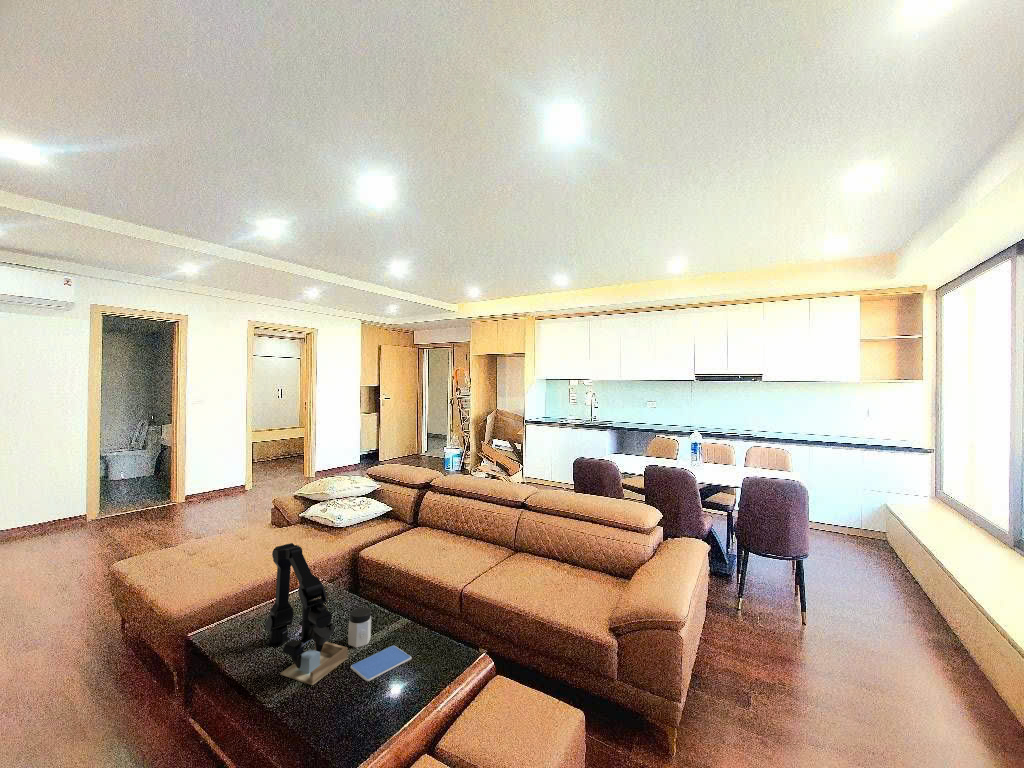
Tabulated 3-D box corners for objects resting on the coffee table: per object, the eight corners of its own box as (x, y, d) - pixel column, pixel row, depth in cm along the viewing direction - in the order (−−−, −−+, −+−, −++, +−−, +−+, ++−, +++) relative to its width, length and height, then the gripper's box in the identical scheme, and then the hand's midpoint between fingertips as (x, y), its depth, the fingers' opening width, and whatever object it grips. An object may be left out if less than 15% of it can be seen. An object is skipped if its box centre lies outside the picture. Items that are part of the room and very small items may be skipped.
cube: (309, 673, 157) (309, 659, 157) (298, 670, 159) (299, 656, 159) (319, 665, 162) (320, 652, 162) (309, 662, 164) (309, 648, 164)
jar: (350, 650, 173) (351, 619, 174) (345, 640, 180) (346, 610, 181) (373, 643, 178) (374, 613, 179) (367, 634, 185) (368, 605, 185)
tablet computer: (393, 647, 177) (393, 643, 177) (412, 659, 169) (412, 656, 169) (349, 669, 162) (349, 665, 162) (367, 684, 154) (367, 680, 154)
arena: (280, 674, 157) (280, 663, 157) (317, 649, 173) (317, 639, 173) (312, 685, 152) (312, 673, 152) (347, 658, 168) (347, 647, 168)
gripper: (307, 635, 149) (305, 681, 149) (345, 610, 167) (344, 652, 166) (282, 628, 153) (281, 673, 153) (323, 605, 171) (321, 645, 170)
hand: (308, 660), depth 160 cm, fingers open, 9 cm apart
